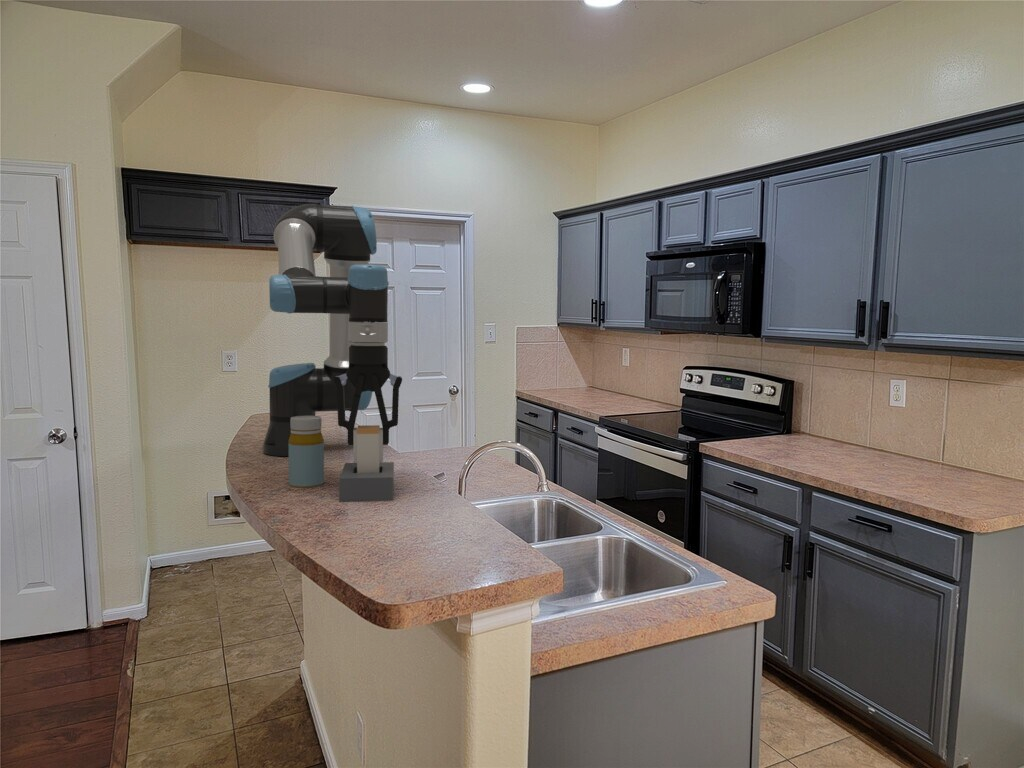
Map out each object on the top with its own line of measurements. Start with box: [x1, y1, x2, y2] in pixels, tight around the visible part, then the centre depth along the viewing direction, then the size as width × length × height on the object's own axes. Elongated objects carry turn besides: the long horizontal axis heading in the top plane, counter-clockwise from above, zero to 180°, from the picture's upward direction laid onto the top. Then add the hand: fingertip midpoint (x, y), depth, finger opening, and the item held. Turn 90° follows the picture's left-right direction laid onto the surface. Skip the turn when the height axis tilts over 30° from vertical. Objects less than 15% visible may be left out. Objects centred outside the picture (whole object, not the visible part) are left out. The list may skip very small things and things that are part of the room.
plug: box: [356, 424, 381, 473], centre depth 135 cm, size 4×4×13 cm
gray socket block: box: [338, 461, 395, 503], centre depth 135 cm, size 14×10×6 cm
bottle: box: [288, 415, 325, 489], centre depth 140 cm, size 7×7×15 cm
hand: (368, 460), depth 135 cm, fingers closed on plug, 4 cm apart
